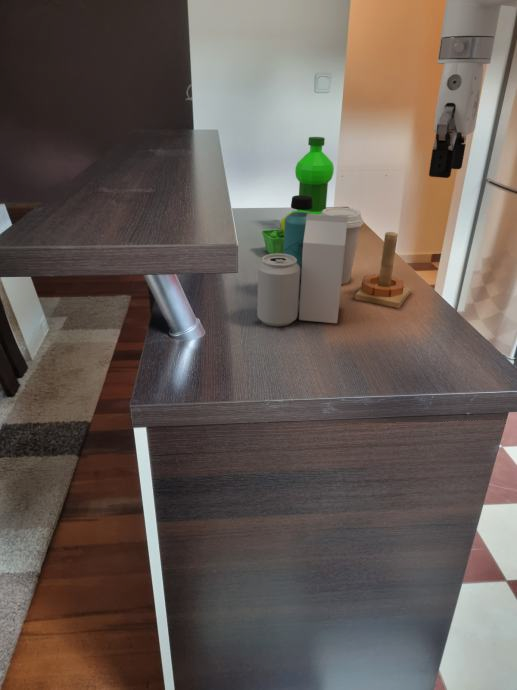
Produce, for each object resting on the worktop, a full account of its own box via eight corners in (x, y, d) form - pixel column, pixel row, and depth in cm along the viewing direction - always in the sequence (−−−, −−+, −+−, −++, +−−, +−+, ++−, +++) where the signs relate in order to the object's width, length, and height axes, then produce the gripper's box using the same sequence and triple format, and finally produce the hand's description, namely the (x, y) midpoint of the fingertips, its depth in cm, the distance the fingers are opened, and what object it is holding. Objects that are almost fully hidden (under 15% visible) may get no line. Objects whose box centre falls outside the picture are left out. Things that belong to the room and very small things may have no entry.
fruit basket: (300, 245, 135) (303, 202, 130) (315, 256, 128) (318, 211, 123) (260, 250, 132) (260, 205, 126) (273, 261, 124) (274, 214, 119)
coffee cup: (309, 284, 111) (314, 215, 104) (317, 269, 119) (322, 204, 112) (354, 289, 109) (362, 219, 102) (358, 274, 117) (366, 208, 110)
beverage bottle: (273, 293, 107) (277, 195, 97) (295, 285, 111) (301, 191, 101) (296, 303, 103) (302, 201, 93) (318, 294, 107) (326, 196, 97)
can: (292, 310, 100) (295, 250, 94) (301, 327, 93) (305, 264, 87) (254, 312, 98) (254, 251, 93) (260, 329, 92) (262, 266, 86)
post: (409, 293, 108) (420, 231, 102) (398, 308, 101) (408, 243, 95) (368, 285, 112) (375, 225, 105) (354, 299, 105) (362, 236, 98)
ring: (402, 283, 109) (404, 276, 109) (402, 298, 102) (403, 291, 101) (363, 279, 111) (363, 272, 110) (359, 294, 104) (360, 286, 103)
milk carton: (337, 324, 94) (347, 221, 85) (298, 320, 95) (304, 219, 86) (338, 308, 100) (348, 211, 91) (302, 305, 102) (308, 209, 92)
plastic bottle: (303, 237, 142) (309, 141, 130) (287, 227, 151) (291, 136, 139) (335, 233, 146) (343, 139, 134) (317, 224, 154) (323, 134, 142)
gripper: (483, 49, 68) (459, 183, 76) (499, 54, 81) (477, 167, 89) (425, 51, 71) (409, 178, 79) (450, 55, 85) (433, 164, 93)
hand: (445, 172), depth 84 cm, fingers open, 9 cm apart
